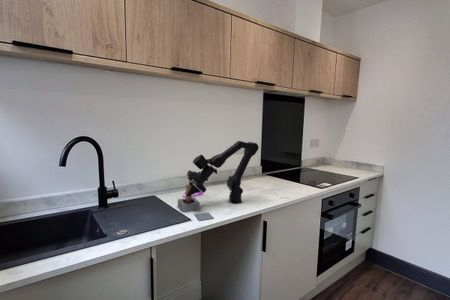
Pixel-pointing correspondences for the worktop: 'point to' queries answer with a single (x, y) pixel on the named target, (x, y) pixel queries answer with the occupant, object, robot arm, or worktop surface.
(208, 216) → the rubber mat
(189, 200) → the walnut peg
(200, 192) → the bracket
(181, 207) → the grey socket block
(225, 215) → the worktop surface
